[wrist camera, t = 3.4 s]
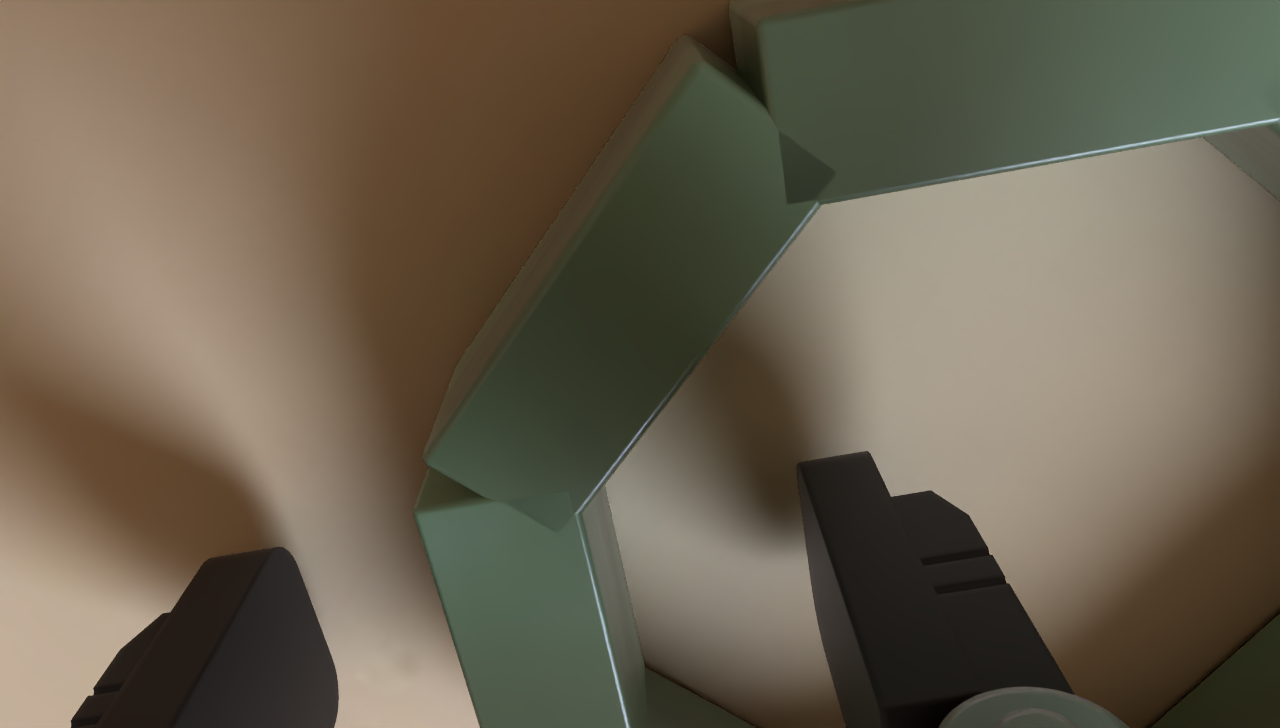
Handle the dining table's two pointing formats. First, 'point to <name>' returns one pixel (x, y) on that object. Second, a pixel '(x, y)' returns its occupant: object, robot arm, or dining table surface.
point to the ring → (741, 259)
